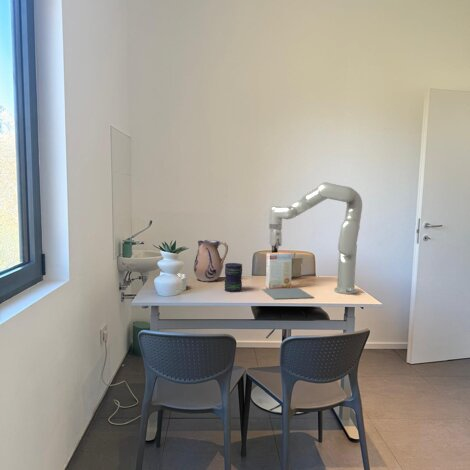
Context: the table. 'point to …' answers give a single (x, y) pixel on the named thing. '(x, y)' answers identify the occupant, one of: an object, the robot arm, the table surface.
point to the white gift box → (182, 281)
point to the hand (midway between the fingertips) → (274, 257)
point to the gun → (296, 267)
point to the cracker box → (278, 270)
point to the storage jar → (233, 277)
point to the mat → (287, 293)
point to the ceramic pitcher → (209, 260)
